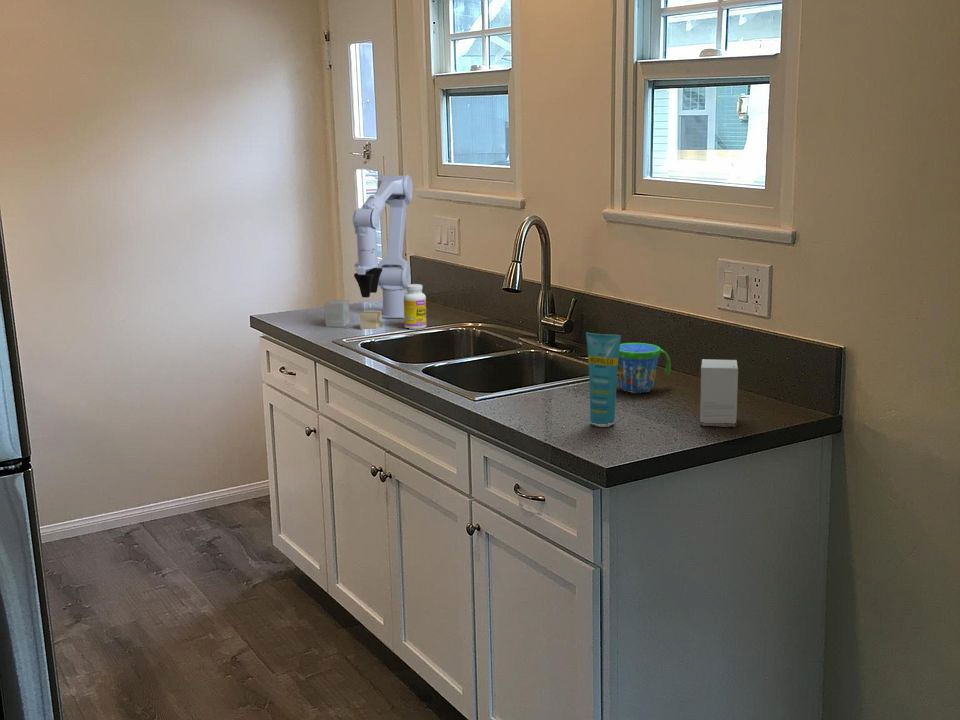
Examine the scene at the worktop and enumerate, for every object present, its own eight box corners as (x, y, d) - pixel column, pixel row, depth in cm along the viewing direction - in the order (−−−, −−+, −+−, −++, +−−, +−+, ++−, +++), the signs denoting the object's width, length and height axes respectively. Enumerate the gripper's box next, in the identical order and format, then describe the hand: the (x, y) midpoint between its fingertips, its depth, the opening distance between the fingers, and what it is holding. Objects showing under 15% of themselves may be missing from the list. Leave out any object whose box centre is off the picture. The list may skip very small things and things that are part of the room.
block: (366, 326, 318) (365, 310, 317) (382, 327, 317) (381, 310, 316) (360, 330, 313) (359, 313, 312) (376, 330, 312) (375, 314, 311)
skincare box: (350, 323, 323) (349, 299, 321) (344, 327, 317) (343, 303, 315) (331, 323, 324) (330, 299, 322) (325, 327, 318) (323, 303, 316)
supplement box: (736, 418, 219) (738, 359, 216) (736, 428, 212) (738, 368, 209) (699, 416, 221) (701, 358, 218) (698, 427, 214) (700, 366, 211)
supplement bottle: (416, 330, 310) (415, 287, 307) (400, 328, 314) (398, 286, 311) (431, 326, 315) (430, 284, 312) (414, 324, 319) (413, 282, 316)
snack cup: (665, 383, 247) (666, 341, 245) (675, 395, 237) (676, 351, 234) (599, 385, 246) (599, 343, 244) (606, 397, 236) (606, 353, 234)
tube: (582, 426, 216) (582, 334, 211) (588, 419, 220) (588, 329, 215) (617, 429, 213) (618, 337, 208) (623, 422, 217) (624, 332, 213)
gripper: (361, 245, 316) (363, 290, 320) (346, 252, 302) (349, 299, 306) (384, 245, 315) (385, 290, 318) (370, 253, 301) (372, 299, 305)
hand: (369, 294), depth 312 cm, fingers open, 7 cm apart
